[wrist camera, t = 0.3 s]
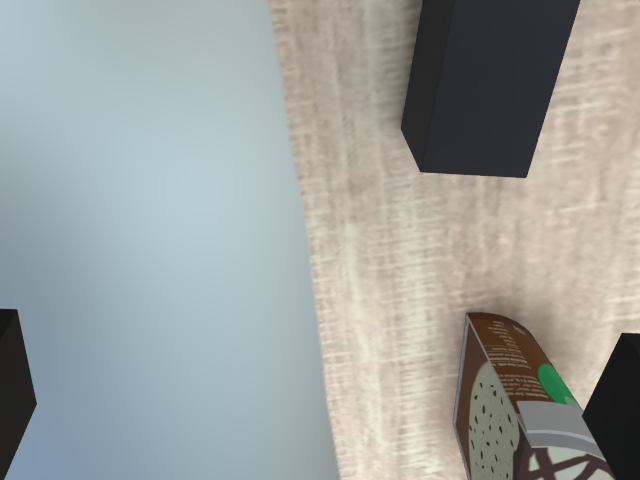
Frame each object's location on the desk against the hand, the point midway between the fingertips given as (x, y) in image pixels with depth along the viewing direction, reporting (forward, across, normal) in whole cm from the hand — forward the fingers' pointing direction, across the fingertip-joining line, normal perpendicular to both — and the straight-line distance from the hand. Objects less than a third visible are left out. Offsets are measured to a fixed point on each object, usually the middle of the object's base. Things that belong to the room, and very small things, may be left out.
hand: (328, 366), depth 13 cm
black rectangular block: (+16, +7, +3) cm, 18 cm away
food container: (+17, +14, -16) cm, 27 cm away
